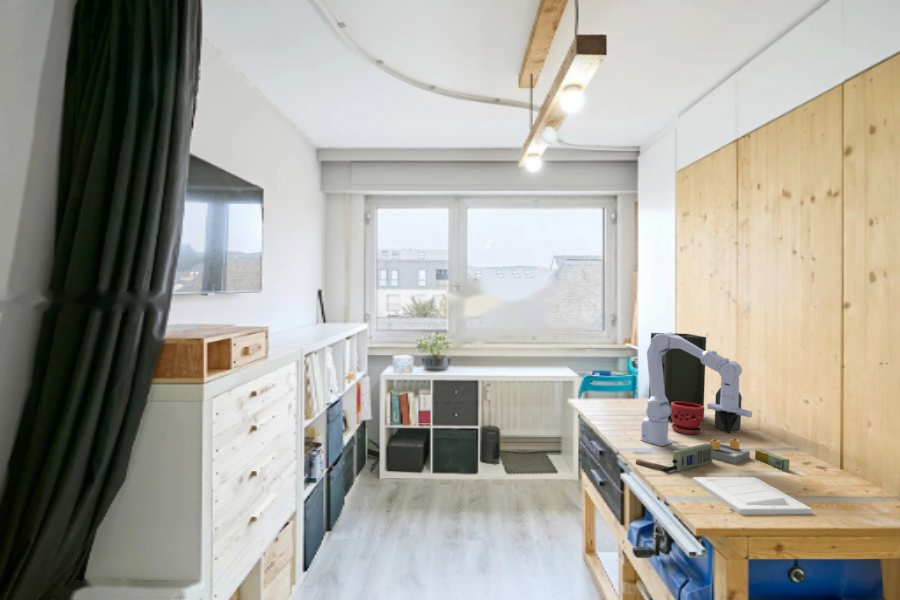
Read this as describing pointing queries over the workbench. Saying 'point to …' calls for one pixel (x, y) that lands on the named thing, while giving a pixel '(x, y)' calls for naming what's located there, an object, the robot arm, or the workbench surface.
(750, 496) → the vent cover
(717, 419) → the bottle
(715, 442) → the breaker
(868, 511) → the workbench surface
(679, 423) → the plant pot
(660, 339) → the robot arm
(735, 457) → the box
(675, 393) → the tall dark green cabinet
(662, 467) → the wooden dowel
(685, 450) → the handheld radio
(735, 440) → the breaker
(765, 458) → the medication box
